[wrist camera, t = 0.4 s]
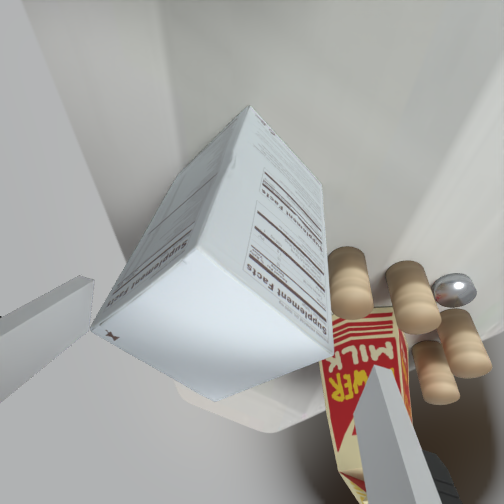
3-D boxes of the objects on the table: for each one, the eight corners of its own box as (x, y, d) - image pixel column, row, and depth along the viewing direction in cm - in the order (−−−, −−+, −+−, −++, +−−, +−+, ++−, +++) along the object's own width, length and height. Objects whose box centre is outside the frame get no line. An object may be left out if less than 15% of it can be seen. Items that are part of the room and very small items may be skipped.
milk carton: (408, 346, 43) (462, 562, 28) (334, 357, 46) (346, 554, 31) (393, 298, 37) (449, 531, 23) (311, 314, 41) (312, 526, 26)
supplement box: (247, 239, 34) (212, 407, 22) (174, 176, 31) (81, 334, 18) (326, 184, 29) (340, 361, 17) (250, 100, 26) (195, 246, 13)
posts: (320, 257, 35) (322, 303, 30) (397, 217, 31) (412, 263, 26) (419, 360, 44) (432, 407, 40) (489, 340, 40) (512, 390, 35)
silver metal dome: (433, 273, 35) (437, 284, 34) (474, 270, 34) (479, 281, 33) (430, 297, 37) (434, 308, 36) (468, 295, 36) (473, 306, 35)
